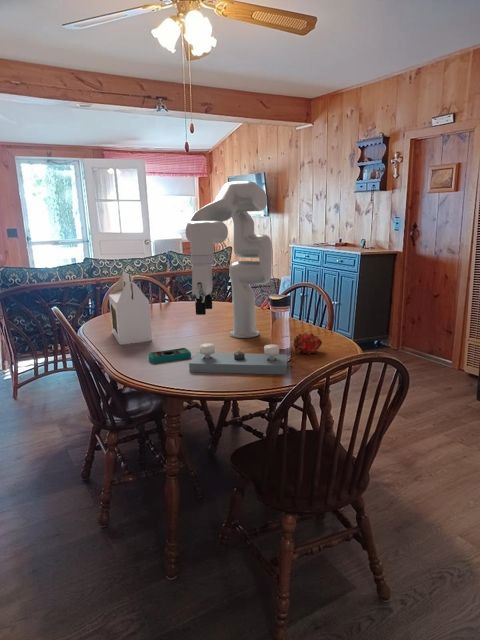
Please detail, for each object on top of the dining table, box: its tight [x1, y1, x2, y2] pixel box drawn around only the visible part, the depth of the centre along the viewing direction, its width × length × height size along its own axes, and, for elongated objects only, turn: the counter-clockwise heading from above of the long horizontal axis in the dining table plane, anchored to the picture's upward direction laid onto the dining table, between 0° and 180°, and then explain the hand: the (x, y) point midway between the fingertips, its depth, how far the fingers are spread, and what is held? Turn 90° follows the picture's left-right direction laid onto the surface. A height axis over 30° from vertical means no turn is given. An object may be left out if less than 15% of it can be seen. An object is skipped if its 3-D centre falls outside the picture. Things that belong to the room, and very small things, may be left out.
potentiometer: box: [233, 348, 245, 360], centre depth 153 cm, size 4×4×3 cm
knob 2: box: [263, 343, 280, 361], centre depth 152 cm, size 5×5×6 cm
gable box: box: [108, 270, 153, 346], centre depth 193 cm, size 22×13×28 cm, turn 23°
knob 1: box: [199, 343, 216, 359], centre depth 155 cm, size 5×5×6 cm
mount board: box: [188, 352, 289, 375], centre depth 154 cm, size 12×32×3 cm, turn 82°
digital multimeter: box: [148, 347, 192, 364], centre depth 166 cm, size 7×15×3 cm, turn 112°
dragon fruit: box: [293, 332, 323, 355], centre depth 167 cm, size 8×8×12 cm
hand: (204, 311), depth 152 cm, fingers open, 9 cm apart
